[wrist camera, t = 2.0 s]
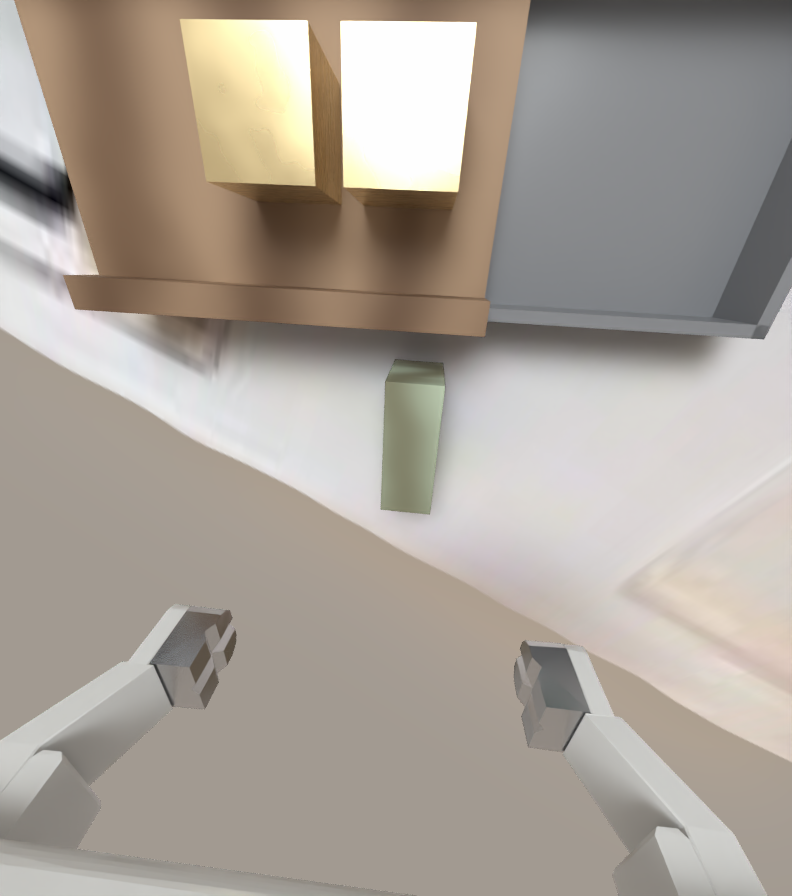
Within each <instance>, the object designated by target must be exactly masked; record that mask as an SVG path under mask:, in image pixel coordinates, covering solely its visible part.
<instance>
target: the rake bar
mask: <svg viewBox="0 0 792 896" xmlns="http://www.w3.org/2000/svg"><path fill="white" fill-rule="evenodd" d="M444 392H445V379H444V368H443V363H437V362H423V361H409V360H396V359H395V361H394V363H393V365H392V368H391V370H390V372H389V374H388V377H387V379H386V381H385V405H384V433H383V460H382V487H381V510H391V511H400V512H410V513H420V514H430V509H431V501H432V493H433V484H434V476H435V468H436V459H437V451H438V442H439V434H440V426H441V417H442V409H443V400H444Z"/></svg>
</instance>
